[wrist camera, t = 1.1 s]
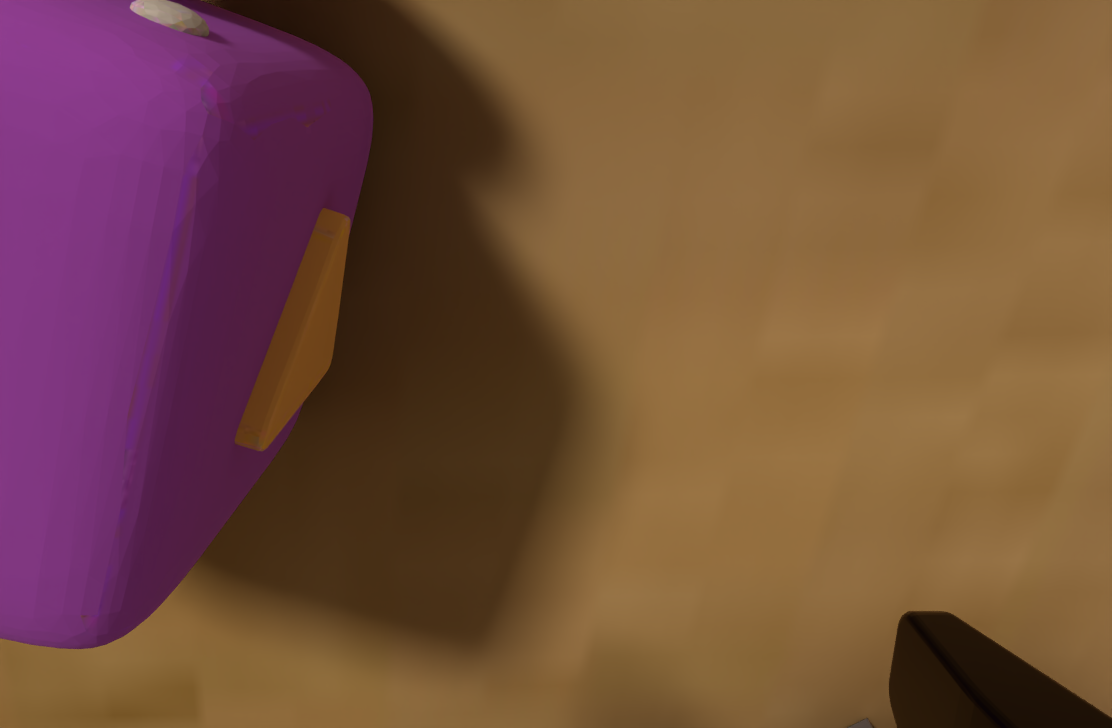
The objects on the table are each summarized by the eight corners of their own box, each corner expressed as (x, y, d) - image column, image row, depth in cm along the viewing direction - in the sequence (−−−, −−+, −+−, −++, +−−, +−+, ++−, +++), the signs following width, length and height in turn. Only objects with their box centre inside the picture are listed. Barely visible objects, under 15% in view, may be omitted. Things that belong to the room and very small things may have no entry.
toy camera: (428, -180, 17) (251, -513, 7) (379, 443, 21) (230, 747, 12) (-129, -270, 16) (-1107, -752, 7) (-58, 386, 21) (-582, 652, 11)
